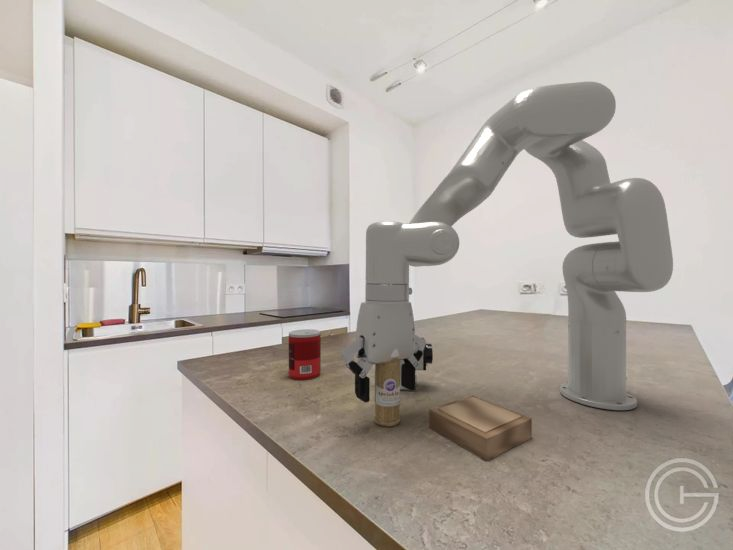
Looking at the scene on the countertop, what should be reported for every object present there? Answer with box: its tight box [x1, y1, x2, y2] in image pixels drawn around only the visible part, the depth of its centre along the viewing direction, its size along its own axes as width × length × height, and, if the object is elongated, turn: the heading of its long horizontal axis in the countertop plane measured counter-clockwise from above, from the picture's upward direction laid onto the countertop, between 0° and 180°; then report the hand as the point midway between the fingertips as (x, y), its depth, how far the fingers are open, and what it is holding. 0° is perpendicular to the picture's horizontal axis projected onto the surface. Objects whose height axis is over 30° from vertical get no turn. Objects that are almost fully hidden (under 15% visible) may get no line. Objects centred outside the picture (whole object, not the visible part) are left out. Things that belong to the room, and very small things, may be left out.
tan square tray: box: [428, 395, 533, 462], centre depth 49 cm, size 11×11×3 cm
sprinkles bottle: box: [374, 349, 401, 427], centre depth 53 cm, size 5×5×14 cm
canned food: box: [288, 328, 322, 381], centre depth 78 cm, size 8×8×11 cm
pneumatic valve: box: [400, 337, 434, 391], centre depth 70 cm, size 6×12×12 cm, turn 86°
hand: (386, 393), depth 53 cm, fingers open, 9 cm apart
